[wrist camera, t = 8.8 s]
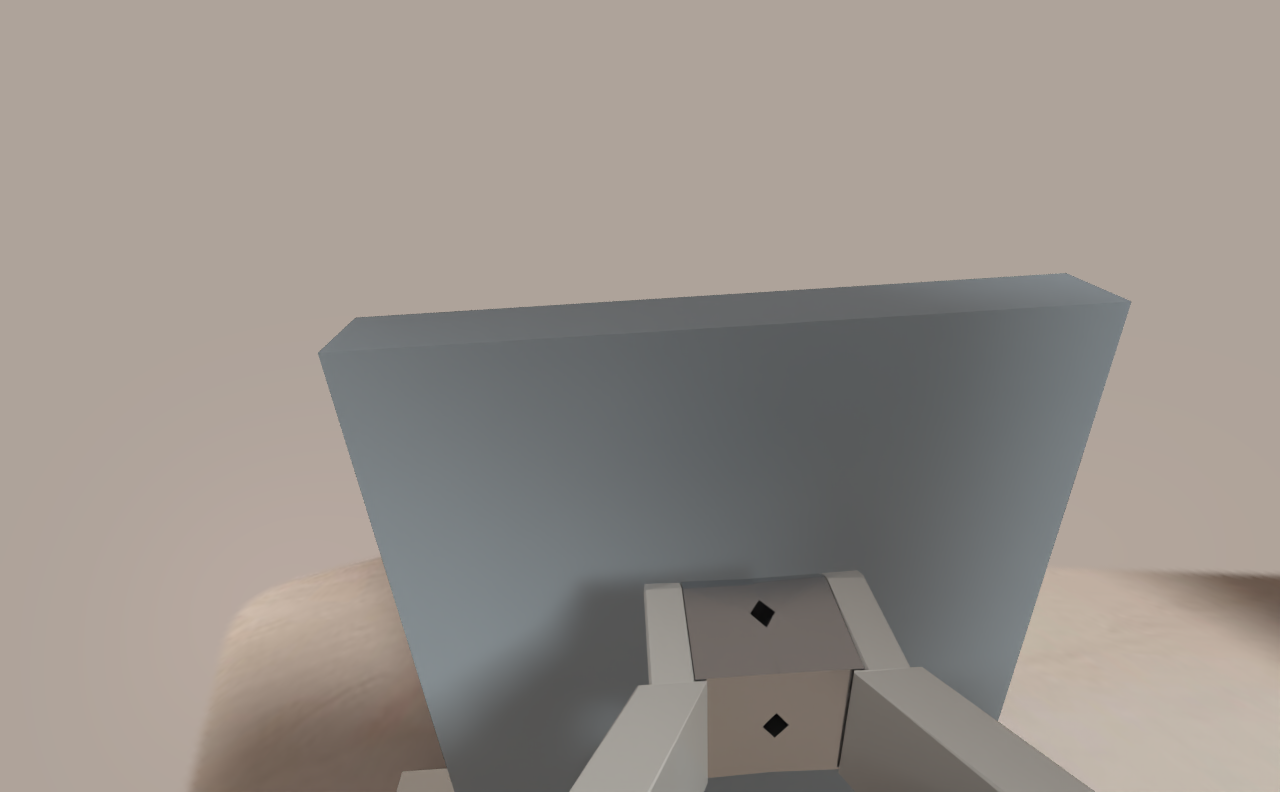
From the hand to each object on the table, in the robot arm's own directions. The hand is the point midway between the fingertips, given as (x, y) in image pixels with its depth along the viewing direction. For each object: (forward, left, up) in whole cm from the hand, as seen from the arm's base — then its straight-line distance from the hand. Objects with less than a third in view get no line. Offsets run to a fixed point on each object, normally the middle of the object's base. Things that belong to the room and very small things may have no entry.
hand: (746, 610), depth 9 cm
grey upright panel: (+2, -3, -14) cm, 15 cm away
